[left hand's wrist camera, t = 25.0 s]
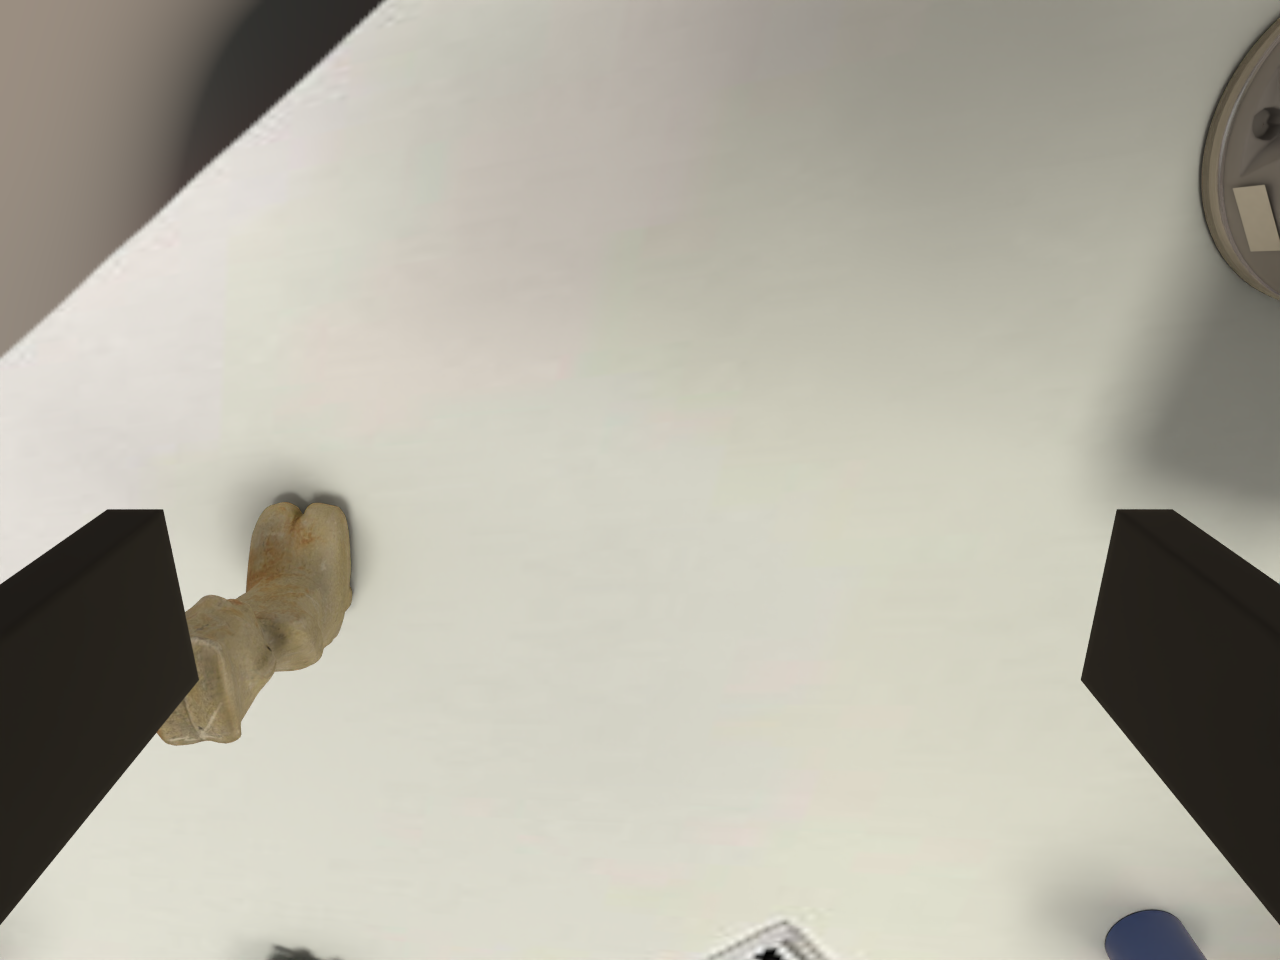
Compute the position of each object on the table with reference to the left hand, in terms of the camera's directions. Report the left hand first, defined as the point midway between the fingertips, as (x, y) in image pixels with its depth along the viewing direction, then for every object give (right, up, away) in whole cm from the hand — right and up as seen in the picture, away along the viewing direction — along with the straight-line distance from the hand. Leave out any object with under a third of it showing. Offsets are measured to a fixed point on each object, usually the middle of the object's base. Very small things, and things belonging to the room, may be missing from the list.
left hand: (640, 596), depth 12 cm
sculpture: (-18, -2, +37) cm, 41 cm away
